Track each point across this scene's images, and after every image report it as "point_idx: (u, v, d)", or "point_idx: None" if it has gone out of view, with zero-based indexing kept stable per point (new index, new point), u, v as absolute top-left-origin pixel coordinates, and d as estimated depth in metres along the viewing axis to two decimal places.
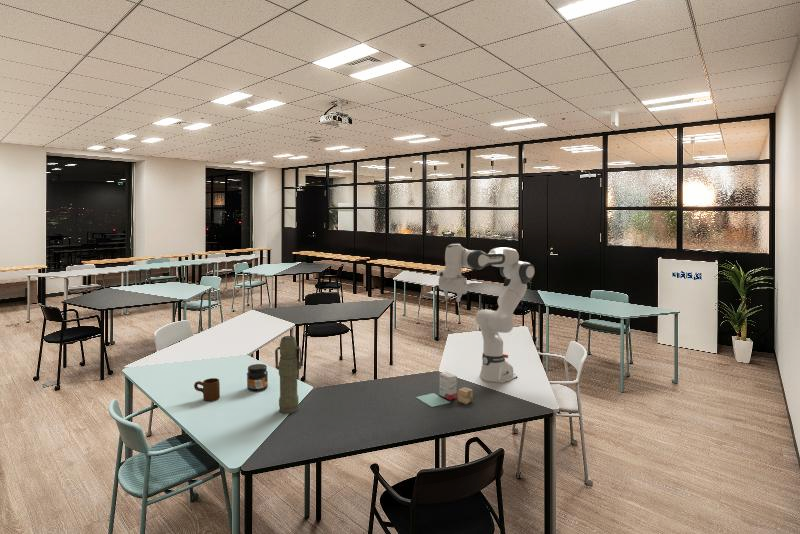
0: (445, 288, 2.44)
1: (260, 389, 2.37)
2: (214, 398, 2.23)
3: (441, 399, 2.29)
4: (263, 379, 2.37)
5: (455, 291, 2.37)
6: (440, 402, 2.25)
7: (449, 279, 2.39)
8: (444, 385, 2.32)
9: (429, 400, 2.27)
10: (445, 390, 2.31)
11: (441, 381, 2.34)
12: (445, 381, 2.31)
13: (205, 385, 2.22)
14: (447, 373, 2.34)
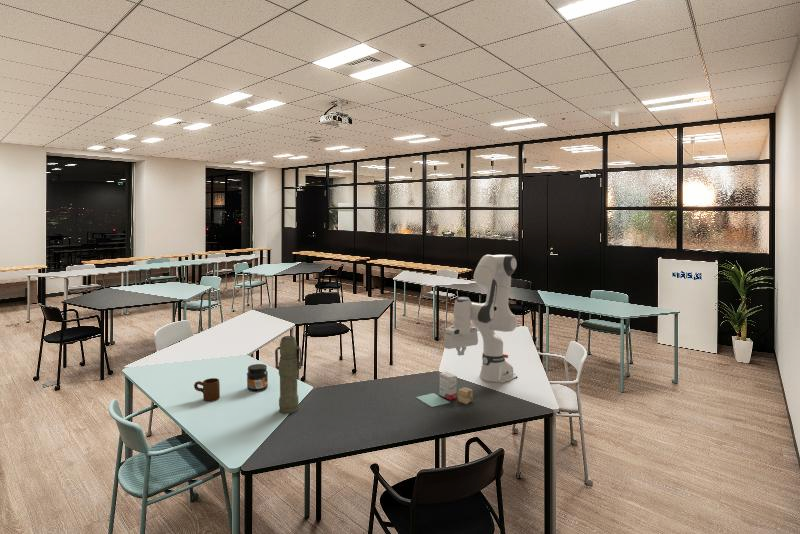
0: (457, 345, 2.32)
1: (260, 389, 2.37)
2: (214, 398, 2.23)
3: (441, 399, 2.29)
4: (263, 379, 2.37)
5: (470, 344, 2.36)
6: (440, 402, 2.25)
7: (466, 334, 2.33)
8: (444, 385, 2.32)
9: (429, 400, 2.27)
10: (445, 390, 2.31)
11: (441, 381, 2.34)
12: (445, 381, 2.31)
13: (205, 385, 2.22)
14: (447, 373, 2.34)
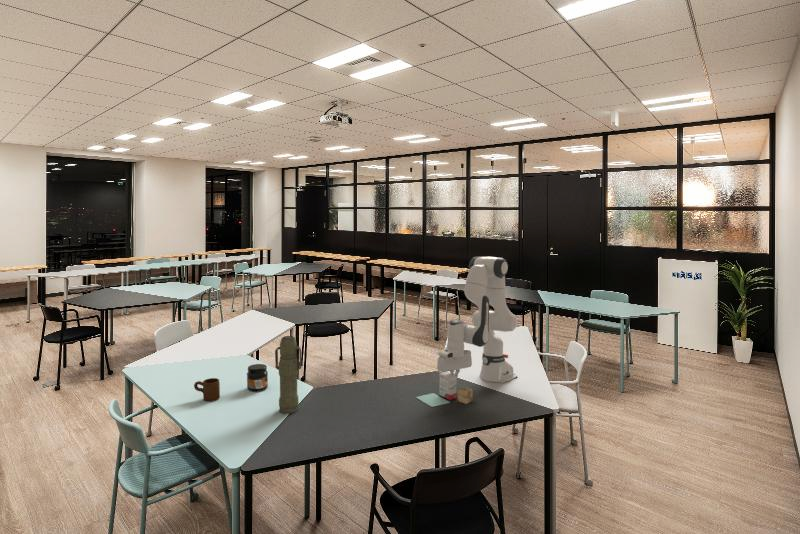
0: (451, 368, 2.31)
1: (260, 389, 2.37)
2: (214, 398, 2.23)
3: (441, 399, 2.29)
4: (263, 379, 2.37)
5: (464, 367, 2.35)
6: (440, 402, 2.25)
7: (460, 357, 2.32)
8: (444, 385, 2.32)
9: (429, 400, 2.27)
10: (445, 390, 2.31)
11: (441, 381, 2.34)
12: (445, 381, 2.31)
13: (205, 385, 2.22)
14: (447, 373, 2.34)
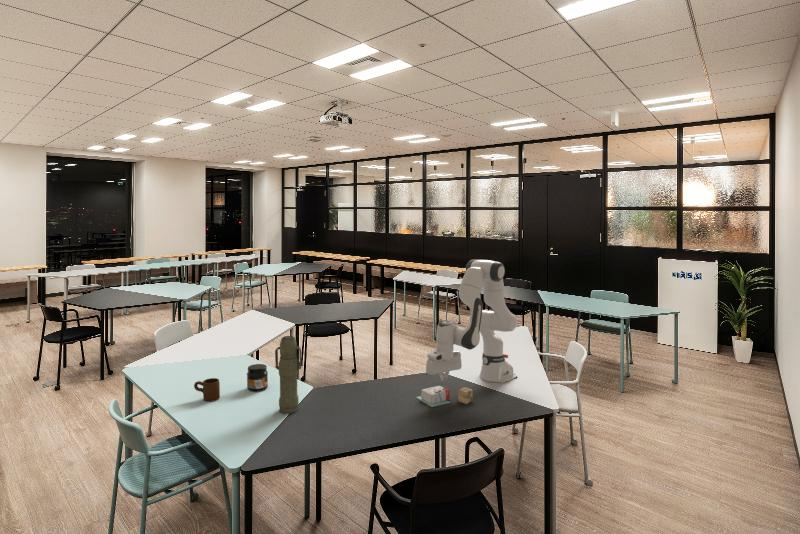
0: (440, 370, 2.27)
1: (260, 389, 2.37)
2: (214, 398, 2.23)
3: None
4: (263, 379, 2.37)
5: (453, 369, 2.32)
6: (440, 402, 2.25)
7: (449, 359, 2.28)
8: None
9: None
10: None
11: None
12: None
13: (205, 385, 2.22)
14: (424, 394, 2.27)
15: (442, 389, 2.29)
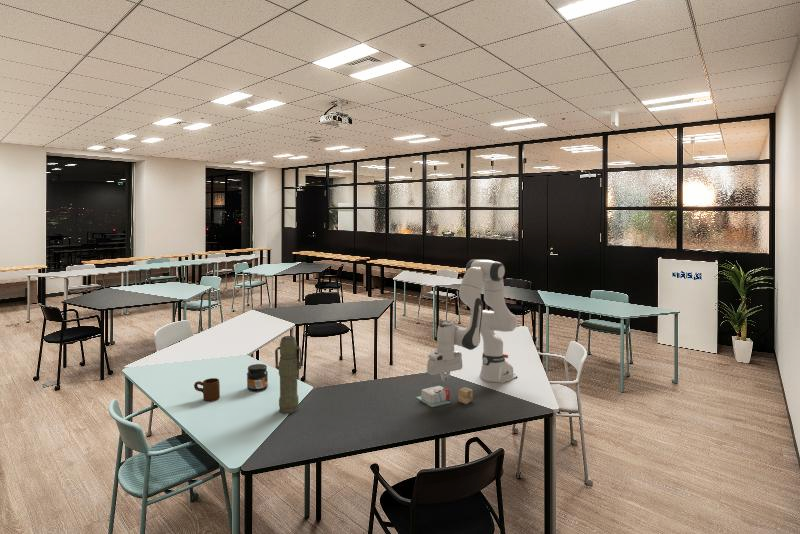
0: (441, 371, 2.28)
1: (260, 389, 2.37)
2: (214, 398, 2.23)
3: None
4: (263, 379, 2.37)
5: (454, 369, 2.32)
6: (440, 402, 2.25)
7: (450, 359, 2.29)
8: None
9: None
10: None
11: None
12: None
13: (205, 385, 2.22)
14: (424, 394, 2.27)
15: (443, 389, 2.29)
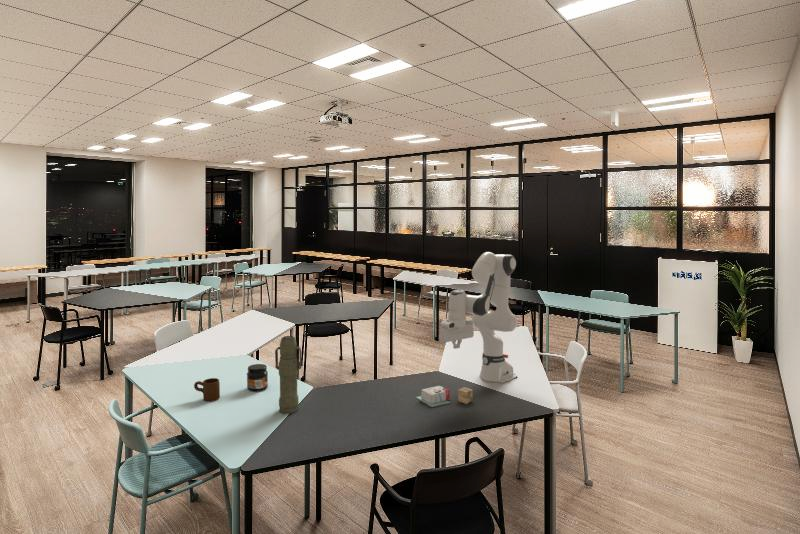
0: (453, 338, 2.30)
1: (260, 389, 2.37)
2: (214, 398, 2.23)
3: None
4: (263, 379, 2.37)
5: (465, 337, 2.34)
6: (440, 402, 2.25)
7: (461, 327, 2.31)
8: None
9: None
10: None
11: None
12: None
13: (205, 385, 2.22)
14: (424, 394, 2.27)
15: (443, 389, 2.29)
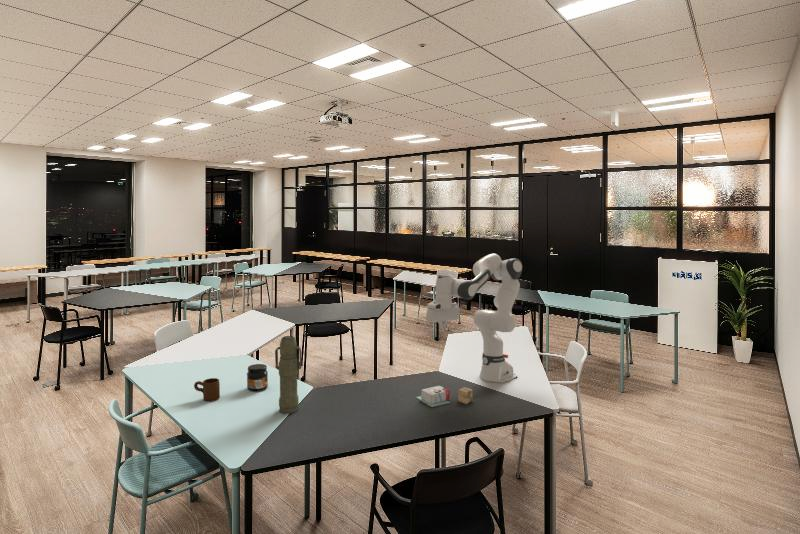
0: (439, 319, 2.44)
1: (260, 389, 2.37)
2: (214, 398, 2.23)
3: None
4: (263, 379, 2.37)
5: (451, 319, 2.49)
6: (440, 402, 2.25)
7: (447, 309, 2.45)
8: None
9: None
10: None
11: None
12: None
13: (205, 385, 2.22)
14: (424, 394, 2.27)
15: (443, 389, 2.29)
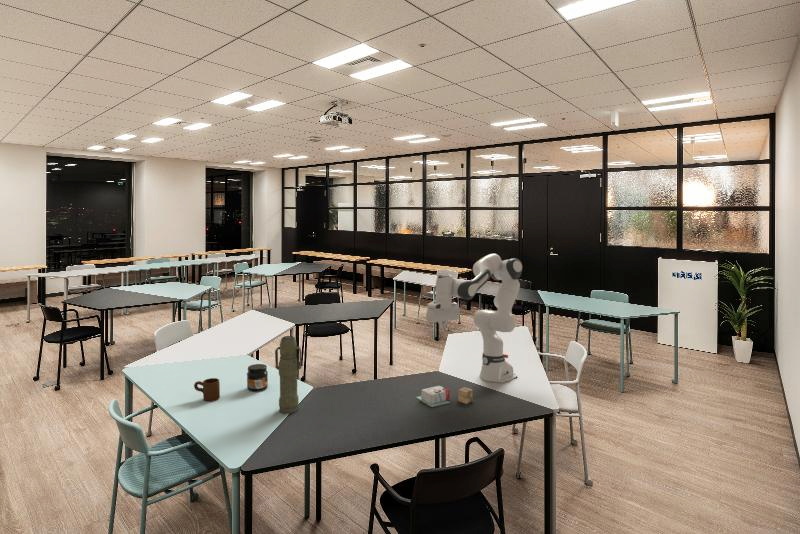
0: (439, 319, 2.44)
1: (260, 389, 2.37)
2: (214, 398, 2.23)
3: None
4: (263, 379, 2.37)
5: (451, 318, 2.49)
6: (440, 402, 2.25)
7: (447, 309, 2.45)
8: None
9: None
10: None
11: None
12: None
13: (205, 385, 2.22)
14: (424, 394, 2.27)
15: (443, 389, 2.29)
